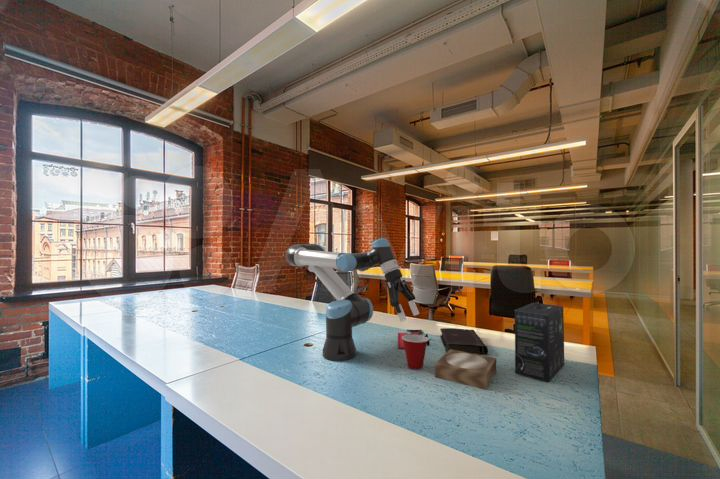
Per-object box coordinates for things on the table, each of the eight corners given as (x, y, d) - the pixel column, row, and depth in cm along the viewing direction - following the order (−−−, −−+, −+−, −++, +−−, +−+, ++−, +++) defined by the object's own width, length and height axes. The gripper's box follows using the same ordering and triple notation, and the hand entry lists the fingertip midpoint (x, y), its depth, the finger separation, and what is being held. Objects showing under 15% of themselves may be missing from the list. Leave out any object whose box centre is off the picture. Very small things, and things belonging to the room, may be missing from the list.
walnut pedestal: (435, 377, 115) (434, 363, 115) (450, 361, 130) (450, 348, 130) (486, 389, 105) (486, 374, 105) (496, 370, 119) (496, 357, 119)
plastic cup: (431, 363, 127) (431, 334, 127) (425, 374, 117) (425, 342, 117) (406, 359, 132) (405, 331, 132) (398, 369, 122) (398, 339, 122)
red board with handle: (425, 331, 172) (398, 331, 174) (425, 326, 172) (398, 326, 174) (431, 351, 143) (398, 350, 144) (430, 345, 143) (398, 345, 144)
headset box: (532, 357, 133) (532, 297, 133) (565, 365, 124) (564, 300, 124) (513, 373, 117) (512, 305, 117) (549, 383, 109) (548, 310, 109)
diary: (475, 338, 161) (475, 329, 161) (488, 356, 136) (488, 345, 136) (438, 337, 163) (438, 327, 163) (444, 354, 139) (444, 343, 139)
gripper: (385, 269, 125) (405, 320, 120) (410, 266, 146) (428, 309, 140) (370, 276, 129) (389, 326, 123) (397, 273, 150) (414, 315, 144)
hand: (410, 317), depth 132 cm, fingers open, 13 cm apart
